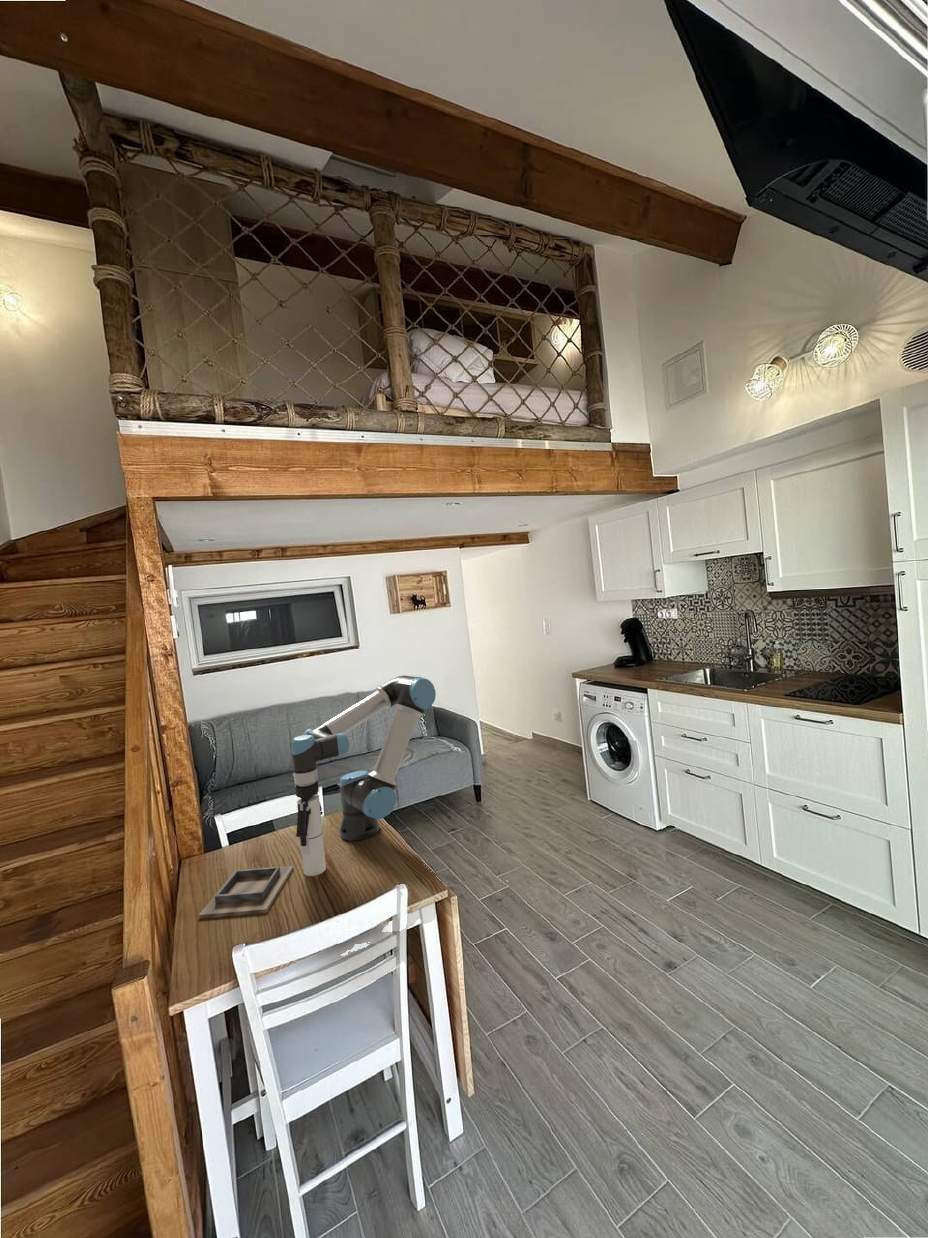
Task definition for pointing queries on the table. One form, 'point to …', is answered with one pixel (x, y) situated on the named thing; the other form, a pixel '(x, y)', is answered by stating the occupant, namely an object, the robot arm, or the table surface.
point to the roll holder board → (247, 892)
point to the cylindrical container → (314, 840)
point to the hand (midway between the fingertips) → (311, 844)
